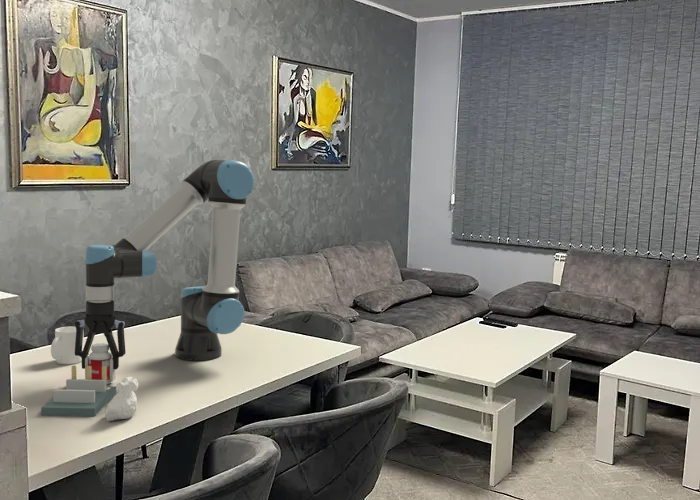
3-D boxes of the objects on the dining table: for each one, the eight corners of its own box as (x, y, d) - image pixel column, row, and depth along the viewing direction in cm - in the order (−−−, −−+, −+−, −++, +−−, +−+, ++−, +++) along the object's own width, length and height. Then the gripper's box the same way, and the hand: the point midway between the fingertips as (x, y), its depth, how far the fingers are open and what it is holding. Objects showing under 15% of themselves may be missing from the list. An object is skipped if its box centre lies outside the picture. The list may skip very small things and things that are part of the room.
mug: (62, 369, 212) (62, 335, 211) (40, 365, 215) (40, 332, 213) (89, 359, 223) (89, 328, 222) (68, 356, 226) (68, 325, 225)
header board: (116, 393, 191) (116, 364, 190) (94, 416, 173) (94, 384, 172) (67, 392, 190) (67, 363, 190) (41, 415, 173) (40, 383, 172)
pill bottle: (84, 382, 199) (84, 344, 198) (104, 378, 204) (104, 341, 203) (96, 387, 195) (96, 349, 194) (116, 383, 200) (116, 345, 199)
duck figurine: (112, 434, 168) (140, 400, 166) (88, 413, 168) (116, 379, 166) (134, 417, 180) (160, 385, 178) (111, 398, 180) (137, 366, 178)
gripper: (138, 298, 201) (137, 376, 204) (70, 296, 200) (70, 375, 203) (130, 303, 194) (130, 384, 196) (60, 301, 193) (61, 383, 195)
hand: (100, 379), depth 200 cm, fingers closed on pill bottle, 6 cm apart
